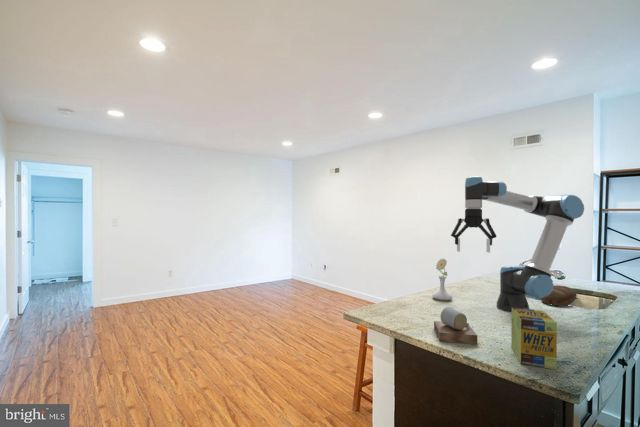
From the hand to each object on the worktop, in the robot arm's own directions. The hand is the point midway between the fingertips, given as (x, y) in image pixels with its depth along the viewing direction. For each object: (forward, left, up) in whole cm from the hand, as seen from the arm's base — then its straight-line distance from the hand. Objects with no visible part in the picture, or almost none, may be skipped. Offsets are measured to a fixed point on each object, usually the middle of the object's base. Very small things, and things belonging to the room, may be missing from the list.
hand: (473, 251), depth 154 cm
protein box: (-9, +41, -33) cm, 53 cm away
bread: (-61, -47, -33) cm, 84 cm away
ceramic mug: (+13, +25, -29) cm, 41 cm away
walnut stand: (+14, +26, -33) cm, 44 cm away
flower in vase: (+8, -33, -33) cm, 47 cm away
